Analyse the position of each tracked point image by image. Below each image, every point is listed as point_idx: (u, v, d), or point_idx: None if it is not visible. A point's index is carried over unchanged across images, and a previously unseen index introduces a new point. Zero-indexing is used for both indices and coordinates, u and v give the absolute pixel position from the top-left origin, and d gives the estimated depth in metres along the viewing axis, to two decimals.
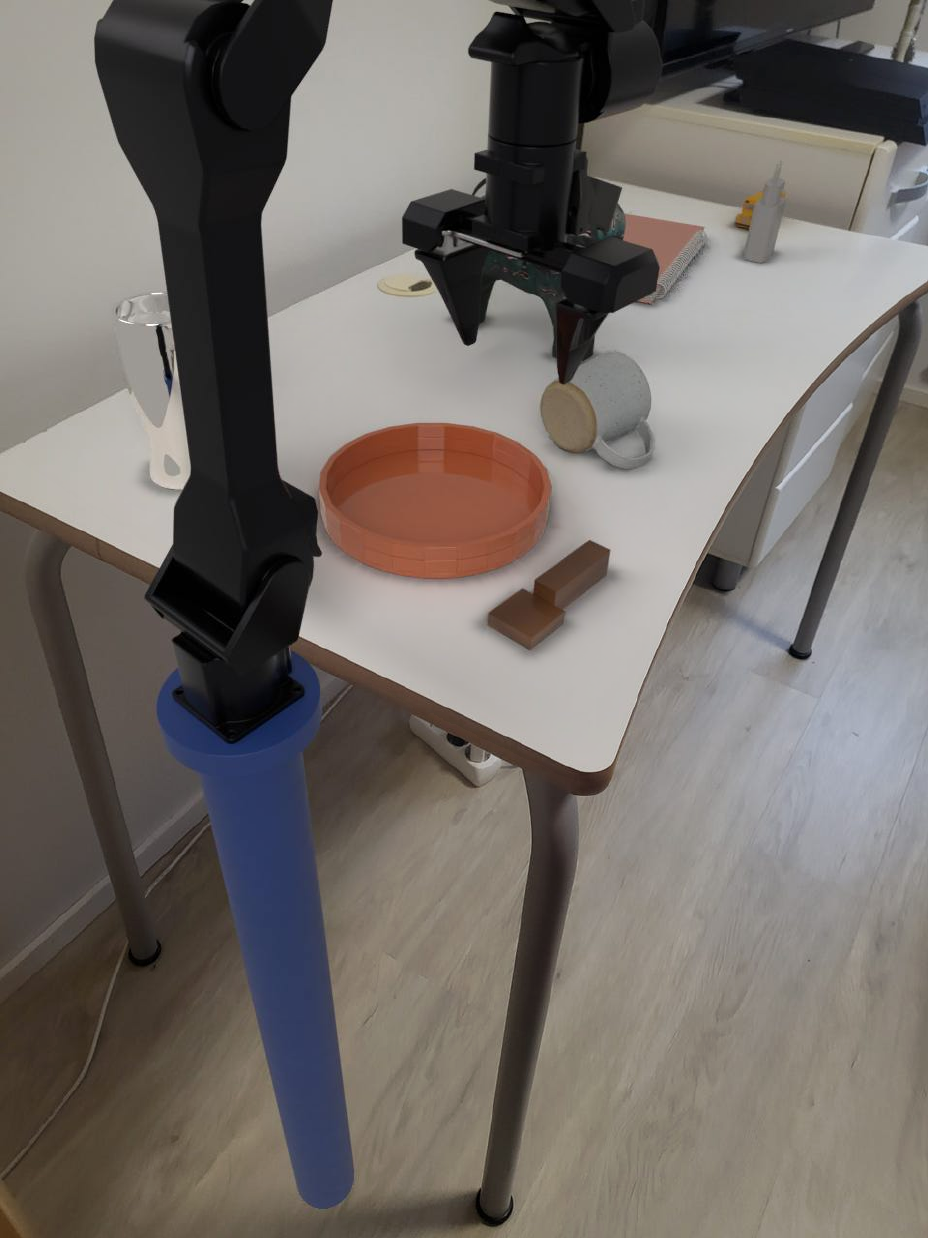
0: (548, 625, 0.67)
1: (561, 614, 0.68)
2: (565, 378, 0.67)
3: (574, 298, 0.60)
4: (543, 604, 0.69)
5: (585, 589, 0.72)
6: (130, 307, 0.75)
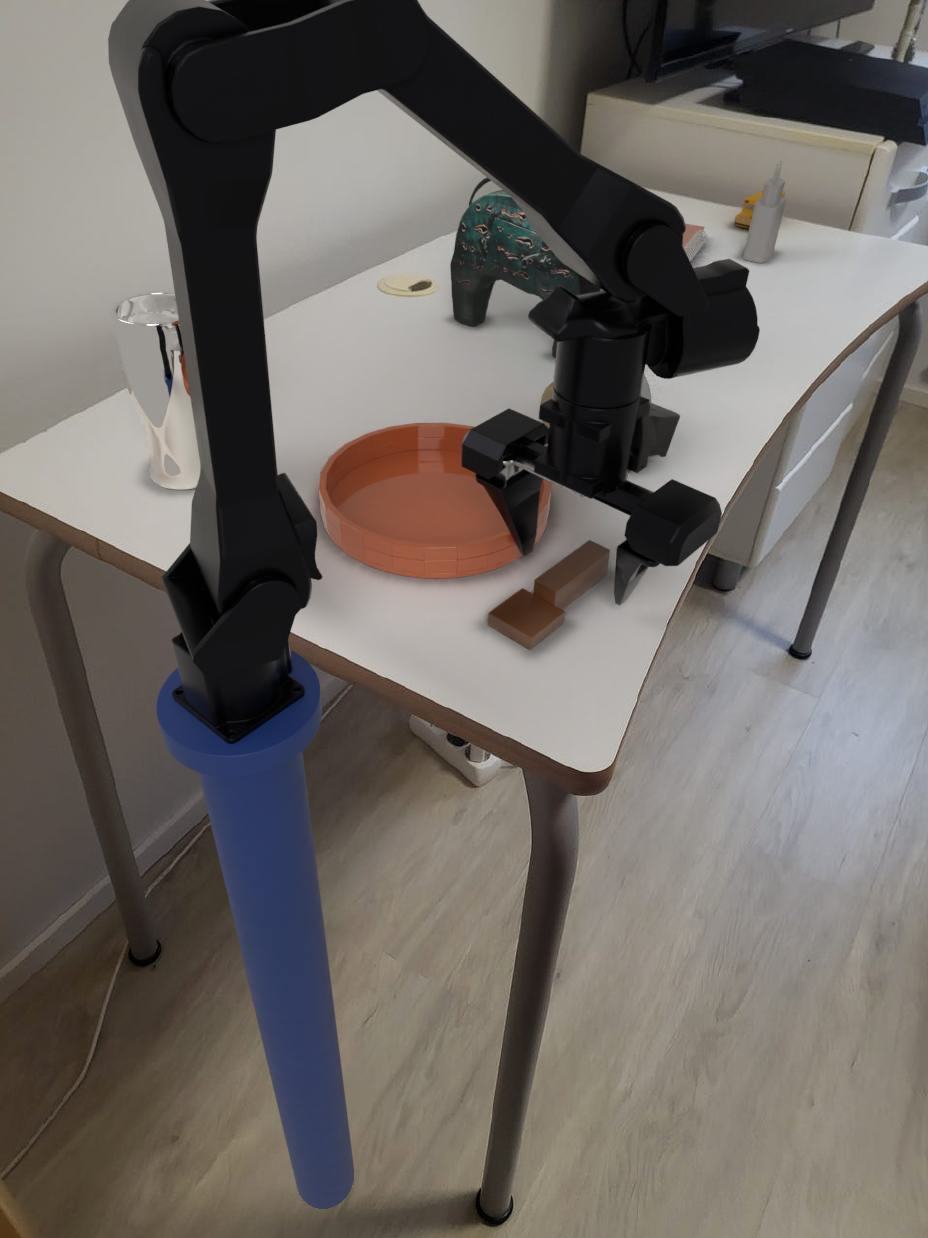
0: (548, 625, 0.67)
1: (561, 614, 0.68)
2: (621, 601, 0.68)
3: (638, 548, 0.61)
4: (543, 604, 0.69)
5: (585, 589, 0.72)
6: (130, 307, 0.75)
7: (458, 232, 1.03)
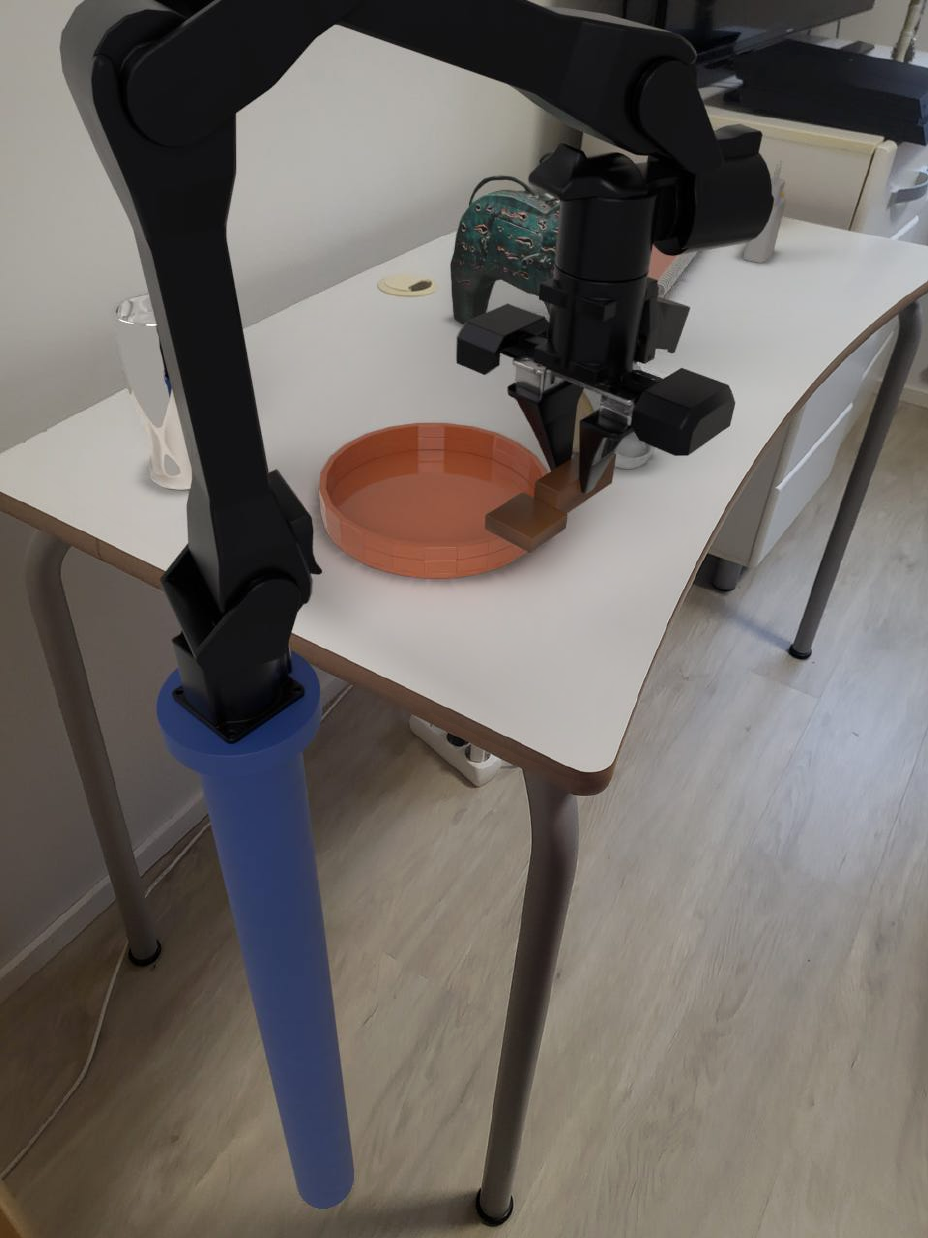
0: (549, 527, 0.63)
1: (563, 516, 0.63)
2: (587, 488, 0.65)
3: (645, 438, 0.57)
4: (544, 507, 0.64)
5: (589, 495, 0.67)
6: (130, 307, 0.75)
7: (458, 232, 1.03)
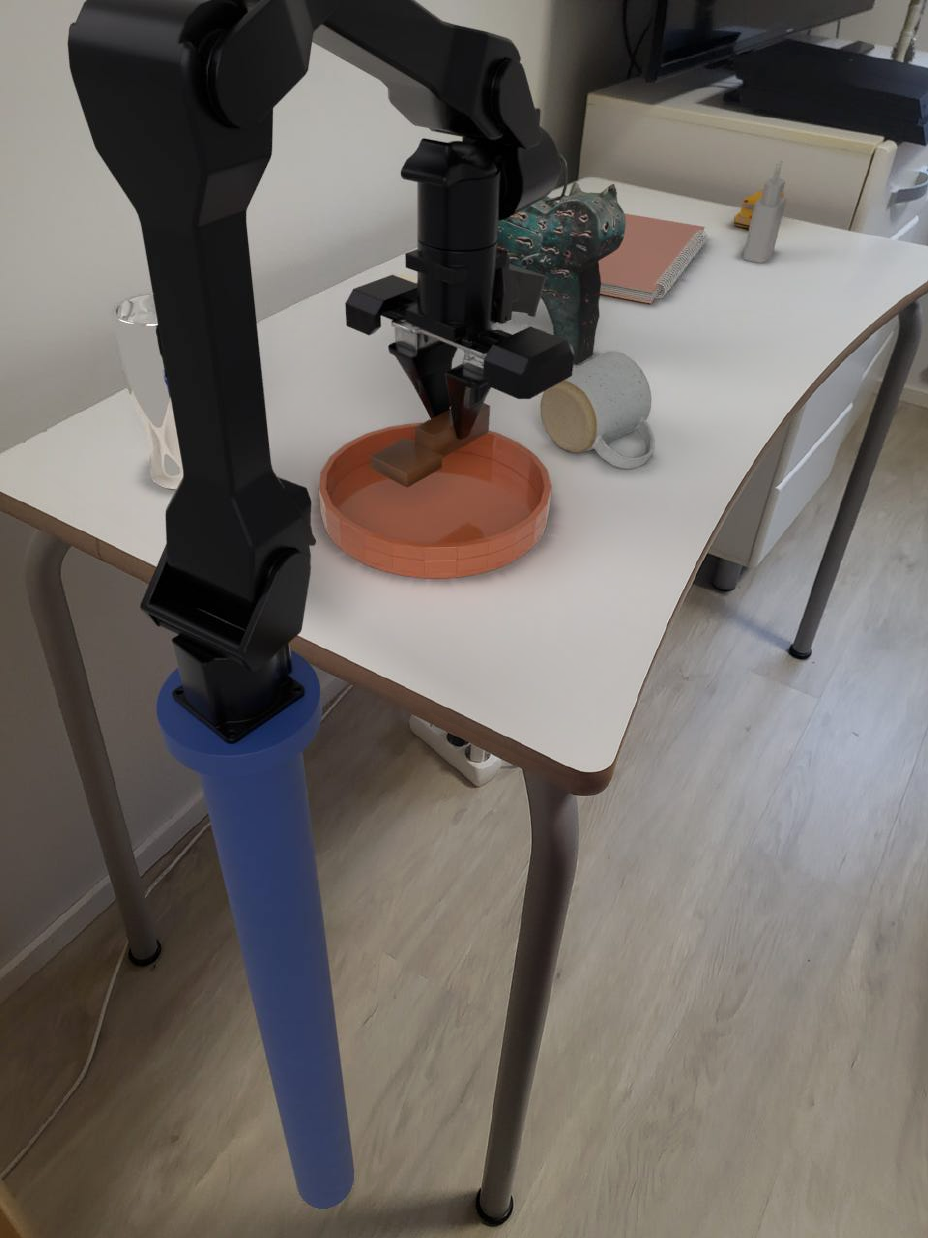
0: (424, 465, 0.72)
1: (438, 457, 0.73)
2: (461, 434, 0.75)
3: (495, 385, 0.67)
4: (422, 449, 0.74)
5: (466, 441, 0.77)
6: (130, 307, 0.75)
7: None
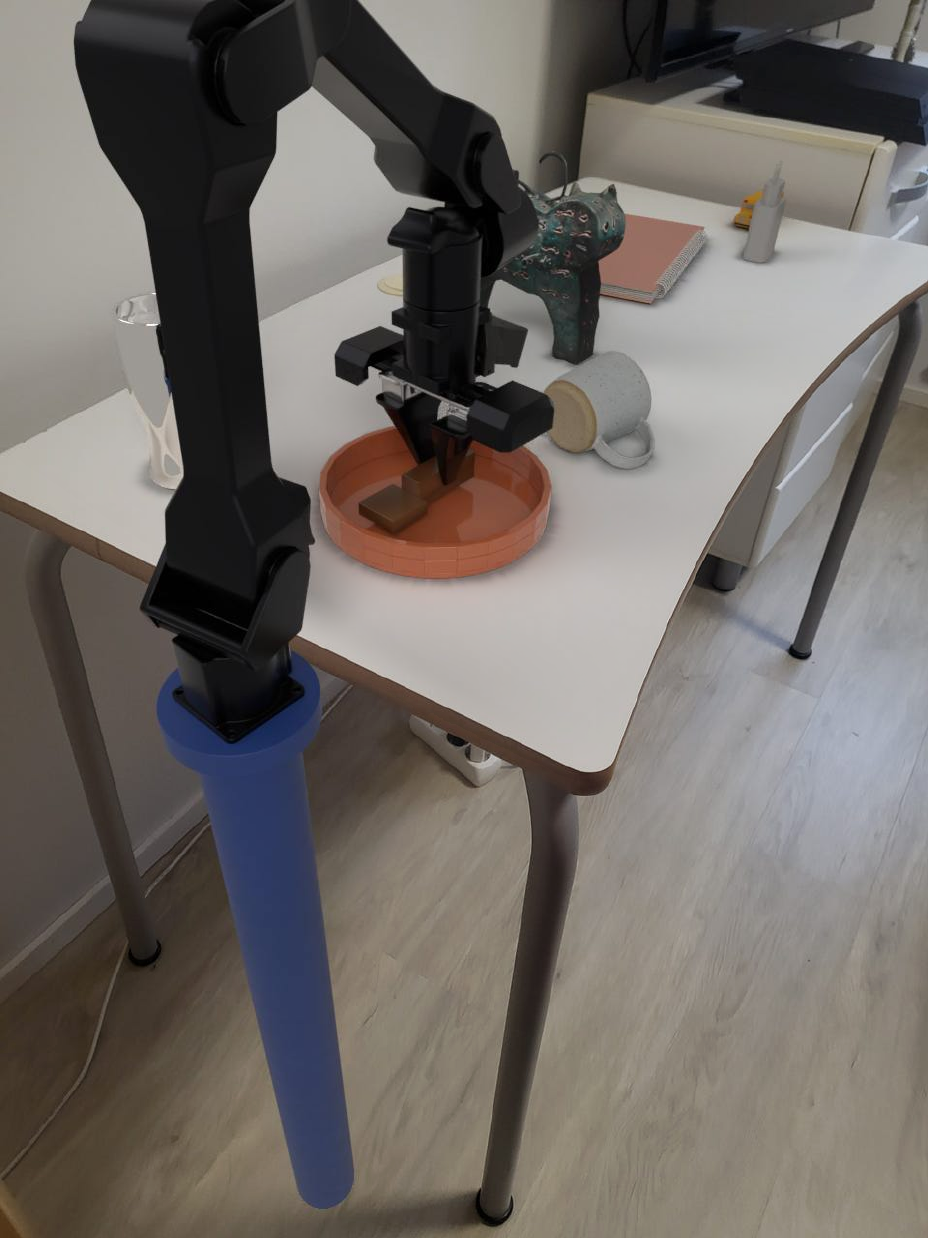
0: (410, 512, 0.75)
1: (424, 504, 0.76)
2: (447, 481, 0.78)
3: (478, 438, 0.69)
4: (409, 496, 0.77)
5: (452, 486, 0.80)
6: (130, 307, 0.75)
7: None
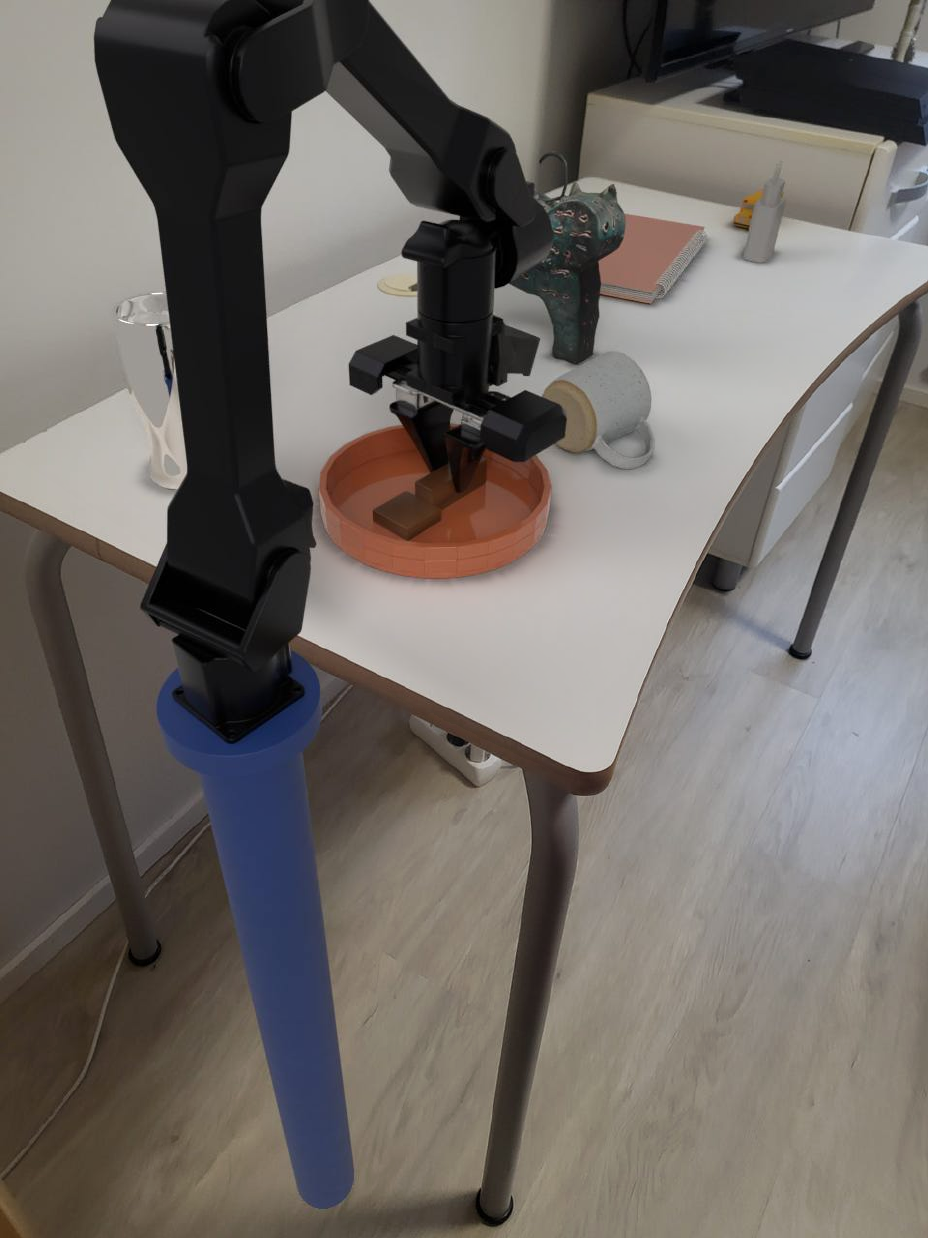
0: (424, 519, 0.76)
1: (437, 511, 0.77)
2: (460, 488, 0.79)
3: (492, 447, 0.70)
4: (422, 503, 0.77)
5: (464, 493, 0.80)
6: (130, 307, 0.75)
7: None
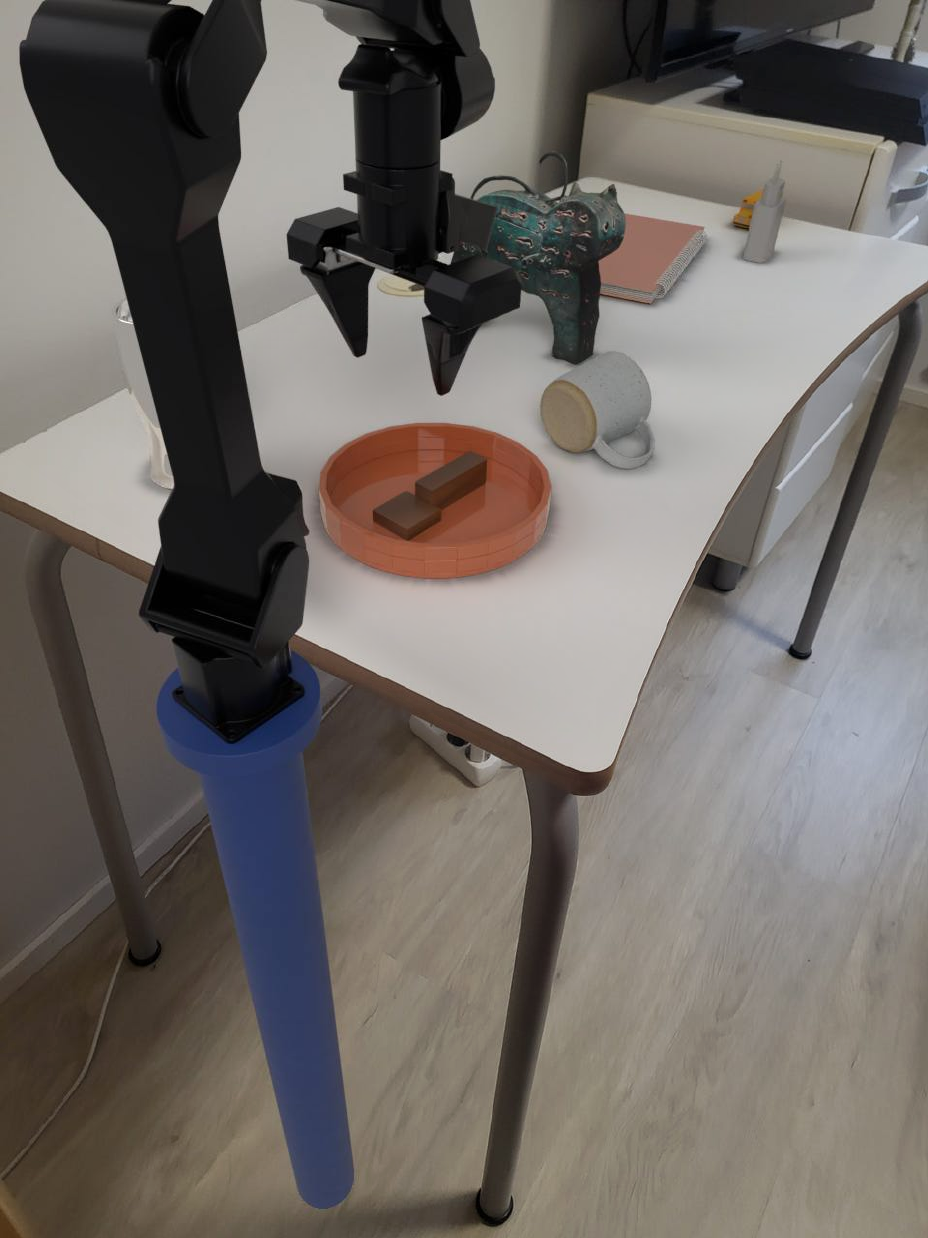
0: (424, 519, 0.76)
1: (437, 511, 0.77)
2: (442, 389, 0.70)
3: (436, 313, 0.63)
4: (422, 503, 0.77)
5: (464, 493, 0.80)
6: None
7: None
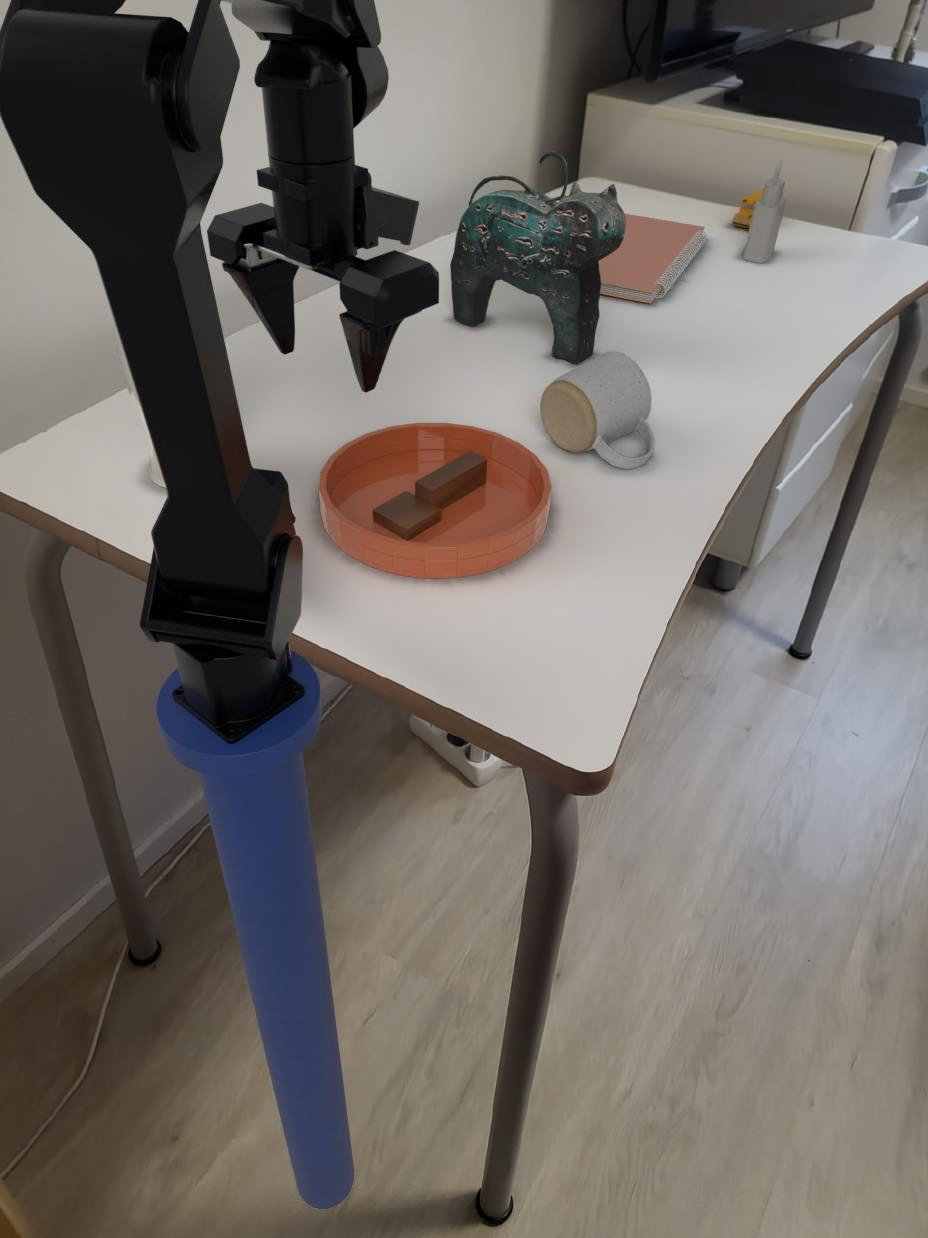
0: (424, 519, 0.76)
1: (437, 511, 0.77)
2: (366, 386, 0.69)
3: (352, 310, 0.63)
4: (422, 503, 0.77)
5: (464, 493, 0.80)
6: None
7: (458, 232, 1.03)
